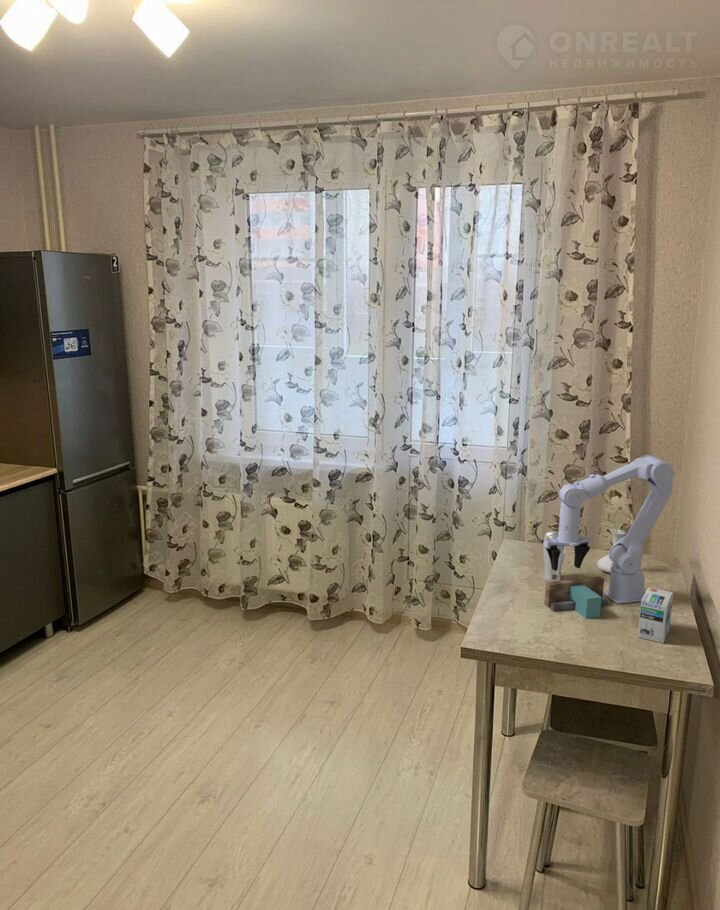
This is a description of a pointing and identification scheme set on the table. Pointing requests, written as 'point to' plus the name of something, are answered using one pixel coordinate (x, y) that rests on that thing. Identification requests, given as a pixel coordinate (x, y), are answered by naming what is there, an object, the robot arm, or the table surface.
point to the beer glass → (548, 571)
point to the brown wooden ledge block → (560, 592)
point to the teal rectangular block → (585, 601)
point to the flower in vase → (614, 531)
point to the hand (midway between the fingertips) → (565, 568)
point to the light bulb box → (655, 615)
